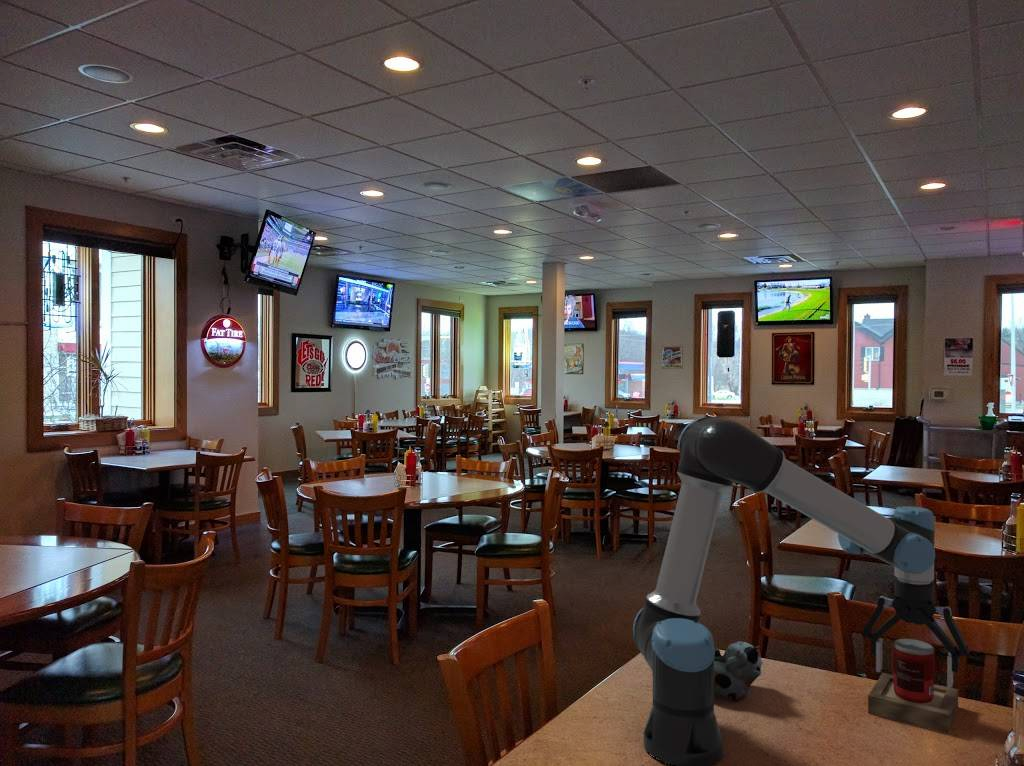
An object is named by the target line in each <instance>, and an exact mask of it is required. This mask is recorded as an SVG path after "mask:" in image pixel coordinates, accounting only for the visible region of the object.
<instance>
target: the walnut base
mask: <svg viewBox="0 0 1024 766" xmlns="http://www.w3.org/2000/svg"><path fill="white" fill-rule="evenodd" d="M867 697H868V698H867V713H868V714H870V715H873V716H878V717H882V718H885V719H889V720H893V721H896V722H897V721H898V722H901V723H905V724H909V725H913V726H917V727H919V728H926V729H928V728H930V729H929V730H932V729H933V731H936V730H938V731H937V732H940V731H941V732H940V733H944V732H945V734H948V733H949V732H951V730H950V729H952V727H953V724H954V721H955V718H954V717H956V715H955V714H957V712H958V709H959V689H958V688H954V687H952V688H948V687H947V686H944V685H940V684H934V696H933V699H932V701H930V702H928V703H915V702H910V701H907V700H904V699H902V698H900V697H898V696H897V695H896V694H895V691H894V674H890V673H885V672H882V673H881V674H880V676H879V678H878V679H877V681H876V683H874V686H872V689H871V690H870V692H869V693H868V696H867ZM957 708H958V709H957ZM956 711H957V712H956ZM953 720H954V721H953ZM952 723H953V724H952ZM951 726H952V727H951ZM949 734H950V733H949Z"/></svg>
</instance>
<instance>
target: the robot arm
mask: <svg viewBox="0 0 1024 766" xmlns="http://www.w3.org/2000/svg"><path fill="white" fill-rule="evenodd" d="M678 450H679V454H680V458H679V464H678V468H677V472H676V474H677V475H678V478H679V479H680V481H681V485H680V486H681V487H680V490H679V493H678V497H677V502H676V506H675V510H674V514H673V518H672V522H671V526H670V531H669V535H668V538H667V542H666V546H665V551H664V554H663V558H662V562H661V563H662V564H661V567H660V571H659V575H658V577H657V582H656V587H655V590H653V591H652V592H650V593H648V594H647V595H646V597H645V602H644V605H643V607H641V608H640V610H639V612H638V613H637V614H636V616H635V618H634V620H633V625H632V626H633V627H632V631H633V632H632V633H633V638H634V642H635V645H636V647H637V649H638V651H639V652H640V655H642V657H643V658H644V659H645V661H646V663H647V664H648V666H649V668H650V669H651V673H652V706H651V710H650V712H649V715H648V719H647V722H646V724H645V727H644V730H643V748H644V747H645V748H644V750H645V749H646V750H647V751H648V752H649V753H650V754H651V755H652V756H654V757H656V758H657V759H659V760H661V761H663V762H666V763H669V764H671V765H670V766H672V765H676V766H708V765H710V766H712V765H711V764H713V765H715V764H716V763H715V762H717V761H718V762H719V761H721V760H722V758H723V756H724V740H723V739H724V738H723V735H722V733H721V729H720V726H719V723H718V720H717V716H716V713H715V690H714V657H715V650H714V649H715V648H716V647H715V644H714V637H713V635H712V633H711V631H710V630H709V629H708V628H707V627H706V626H705V625H703V624H701V623H700V617H701V609H700V608H699V606H698V605H697V597H698V594H699V589H700V585H701V582H702V578H703V573H704V569H705V564H706V562H707V557H708V553H709V549H710V546H711V542H712V538H713V532H714V529H715V525H716V522H717V516H718V513H719V508H720V504H721V502H722V501H721V500H722V497H723V494H724V493H725V492H726V491H728V490H730V489H731V488H732V487H733V483H737V484H739V485H740V486H741V485H742V486H744V487H745V488H748V489H750V490H752V491H753V492H754V493H756V494H760V493H764V492H765V493H767V494H768V495H770V496H771V497H774V498H776V499H777V500H778V501H780V502H781V503H783V504H786V505H787V506H789V507H791V508H793V509H795V510H796V511H798V512H800V513H801V514H802V515H805V516H807V517H808V518H810V519H812V520H814V521H815V522H817V523H819V524H821V525H822V526H824V527H826V528H828V529H829V530H831V531H833V532H834V533H836V534H837V538H838V543H839V546H840V547H841V549H842V550H843V551H844V552H845V553H848V554H853V555H855V554H856V555H863V554H865V555H868V556H871V557H873V558H875V559H878V560H880V561H882V562H885V563H887V564H888V565H891V566H893V567H894V574H893V575H894V576H895V578H894V581H893V582H894V585H893V586H894V597H893V599H892V598H888V597H887V596H886V595H881V596H880V597H879V598H878V599H877V606H876V608H875V610H874V612H873V613H872V615H871V617H870V619H869V620H868V622H867V624H866V625H865V627H863V630H862V631H861V635H862V636H863V637H866V638H868V639H869V640H870V653H871V655H874V656H875V672H877V673H881V671H882V669H883V638H880V637H882V636H883V635H884V634H885V633H886V632H887V631H889V630H890V629H891V628H892V627H893V626H894V625H895V624H897V623H898V622H899V621H901V620H902V621H903V622H904V623H905V624H907V623H908V624H911V623H912V624H915V625H919V626H922V625H925V626H926V627H927V628H928V629H929V630H931V632H932V633H933V634H934V635H935V637H936V638H937V639H938V640H939V642H940V643H941V644H942V645H943V647H944V648H945V649H946V650H947V652H948V654H947V656H946V657H947V659H946V661H947V662H946V665H947V667H946V668H947V669H946V670H947V671H946V673H947V674H946V678H947V679H946V680H947V681H946V687H948V688H953V685H954V673H958V671H959V669H960V657H968V655H969V654H970V648H969V646H968V644H967V642H966V641H965V638H964V637H963V635H962V633H961V631H960V629H959V627H958V625H957V623H956V621H955V619H954V617H953V612H952V607H951V606H949V605H946V606H937V605H936V604H935V583H934V582H933V581H934V580H935V559H936V549H935V532H936V529H935V517H934V513H933V512H932V511H931V510H930V509H928V508H924V507H919V506H908V505H906V506H905V505H904V506H898V507H895V510H894V512H893V516H891V517H886V516H884V515H882V514H881V513H879V512H878V511H876V510H874V509H873V508H871V507H868V505H866V504H863V503H862V502H860V501H858V500H857V499H855V498H854V497H852V496H850V495H848V494H846V493H845V492H843V491H841V490H839V489H838V488H836V487H835V486H832V485H831V484H829V483H827V482H826V481H825V480H822V478H819V477H817V476H815V475H814V474H813V473H810V472H809V471H807V470H805V469H804V468H802V467H800V466H799V465H797V464H795V463H793V462H792V461H790V460H788V459H786V456H785V453H784V451H783V450H782V449H779V448H778V447H776V446H775V445H773V444H772V443H770V442H768V441H767V440H766V439H764V438H763V437H761V436H760V435H759V434H757V433H755V432H754V431H753V430H751V429H750V428H748V427H747V426H745V425H743V424H742V423H740V422H737V421H735V420H730V419H729V420H728V419H724V418H721V417H719V416H717V417H715V416H704V417H699V418H697V419H694V420H692V421H690V422H689V423H687V425H685V427H684V428H683V429H682V431H681V433H680V435H679V438H678ZM890 606H891V607H892V608H893V610H895V612H896V613H894V614H893V615H892V616H891V617H890V618H889V619H888V620H887V621H885V622H884V623H883V624H882V625H881V626H880V627H878V629H877V630H875V631H872V630H873V628H874V626H875V624H877V623H876V622H877V621H878V620H879V618H880V616H881V615H882V613H883V612H884V610H885V609H888V608H889V607H890ZM936 613H938V614H939V615H940V616H939V617H941V618H942V619H943V620H944V623H945V624H946V626H947V629H948V630H949V632H950V634H951V637H952V638H953V640H954V641H955V643H956V644H955V643H954V641H952V640H951V638H950V637H949V636H948V635H947V634H946V631H944V630H943V629H942V627H941V626H940V625H939V624H938V622H937V620H936V619H935V618H934V617H933V616H934V615H936ZM646 750H645V751H646ZM647 751H646V752H647ZM651 755H650V756H651ZM652 756H651V757H652ZM657 759H656V760H657ZM659 760H658V761H659ZM661 761H660V762H661ZM663 762H662V763H663ZM718 762H717V763H718ZM666 763H665V764H666ZM714 763H715V764H714ZM669 764H668V765H669Z"/></svg>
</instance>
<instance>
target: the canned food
mask: <svg viewBox="0 0 1024 766" xmlns="http://www.w3.org/2000/svg"><path fill="white" fill-rule="evenodd" d="M934 650H935V649H934V646H932V645H931V644H930V643H927V642H925V641H922V640H919V639H918V640H917V639H913V638H911V639H910V638H900V639H896V640H894V641H893V675H894V691H895V694H896V695H897V696H898V697H900V698H902V699H904V700H907V701H910V702H915V703H928V702H930V701H932V699H933V696H934V683H935V652H934Z"/></svg>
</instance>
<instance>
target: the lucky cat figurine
mask: <svg viewBox="0 0 1024 766" xmlns="http://www.w3.org/2000/svg"><path fill="white" fill-rule="evenodd" d="M714 648H715V649H714V650H715V657H714V692H716V693H718V694H719V695H721V696H723V697H725V698H726V699H730V698H732V701H733V702H739V701H741V700H743V699H745V698H747V697H749V695H750V693H751V685H752V684H753V683H754V681H756V679H758V677H760V676H761V675H762V671H761V669H762V666H763V663H764V662H763V660H762V653H761V652H760V650H761V646H760V645H757V646H754V645H753V644H750V643H748V642H743V641H736V642H734V643H731V644H729V646H728V647H727V648H726V650H724V653H723V655H721V651H720V649H719V648H718V647H714Z"/></svg>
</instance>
